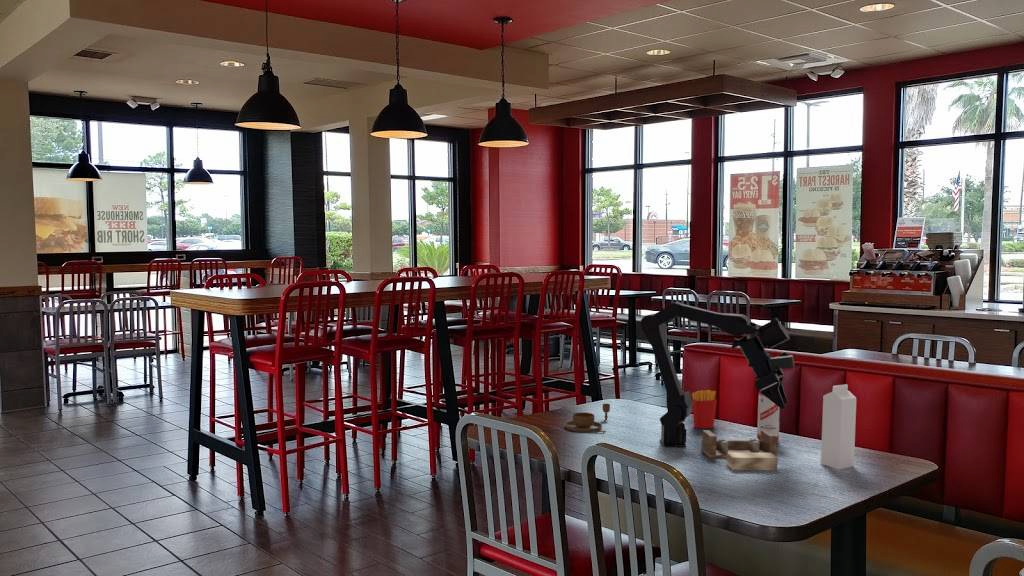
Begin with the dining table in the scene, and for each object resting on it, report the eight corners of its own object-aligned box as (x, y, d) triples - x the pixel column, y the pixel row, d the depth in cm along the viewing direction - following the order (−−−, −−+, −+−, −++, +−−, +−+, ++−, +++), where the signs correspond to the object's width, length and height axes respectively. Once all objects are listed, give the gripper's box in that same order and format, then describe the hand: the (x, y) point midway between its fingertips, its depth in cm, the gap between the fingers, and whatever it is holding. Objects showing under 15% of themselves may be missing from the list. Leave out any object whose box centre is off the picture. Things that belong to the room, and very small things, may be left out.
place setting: (553, 425, 260) (554, 407, 260) (606, 420, 268) (606, 402, 268) (579, 437, 244) (580, 418, 244) (635, 431, 252) (635, 413, 252)
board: (732, 471, 210) (732, 457, 210) (726, 465, 215) (726, 452, 215) (777, 471, 210) (777, 457, 210) (770, 465, 215) (770, 452, 215)
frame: (709, 457, 221) (710, 436, 221) (701, 450, 229) (701, 429, 229) (776, 457, 222) (777, 436, 222) (765, 450, 230) (766, 429, 230)
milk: (853, 467, 214) (857, 386, 213) (838, 470, 211) (842, 387, 210) (834, 461, 219) (838, 382, 218) (819, 464, 216) (823, 383, 215)
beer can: (779, 444, 237) (781, 391, 236) (758, 443, 238) (759, 390, 237) (777, 439, 243) (779, 387, 242) (755, 438, 244) (757, 386, 243)
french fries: (710, 424, 262) (711, 388, 261) (717, 427, 258) (718, 390, 257) (688, 426, 259) (689, 389, 258) (695, 429, 255) (696, 391, 254)
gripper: (779, 345, 212) (810, 397, 209) (785, 339, 229) (813, 388, 226) (742, 363, 216) (771, 416, 213) (750, 357, 233) (777, 405, 230)
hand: (784, 405), depth 221 cm, fingers open, 9 cm apart
